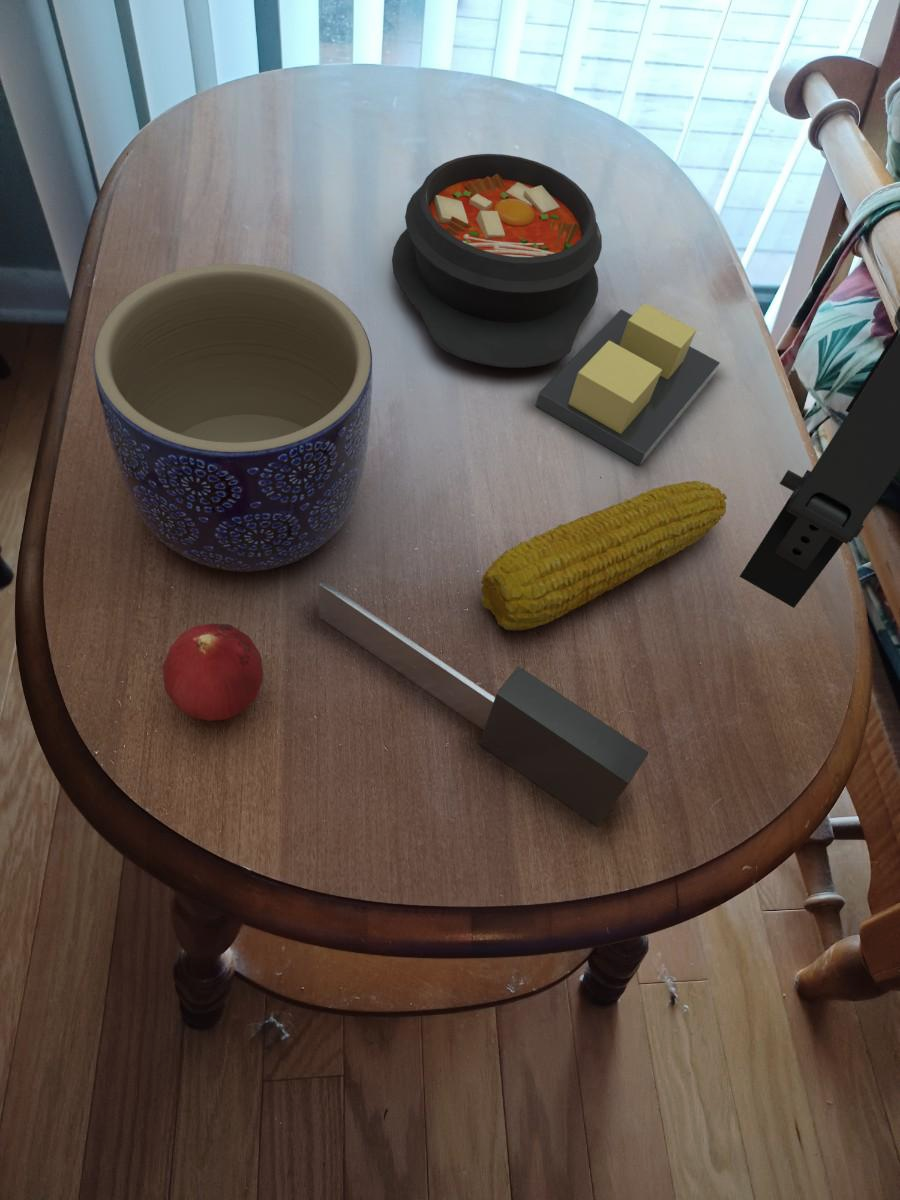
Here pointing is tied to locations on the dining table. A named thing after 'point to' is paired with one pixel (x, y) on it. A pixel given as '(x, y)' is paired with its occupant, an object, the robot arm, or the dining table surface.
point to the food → (596, 553)
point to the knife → (508, 716)
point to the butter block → (614, 386)
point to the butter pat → (657, 338)
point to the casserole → (500, 259)
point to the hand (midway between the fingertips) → (824, 497)
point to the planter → (237, 411)
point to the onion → (213, 672)
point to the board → (653, 417)
